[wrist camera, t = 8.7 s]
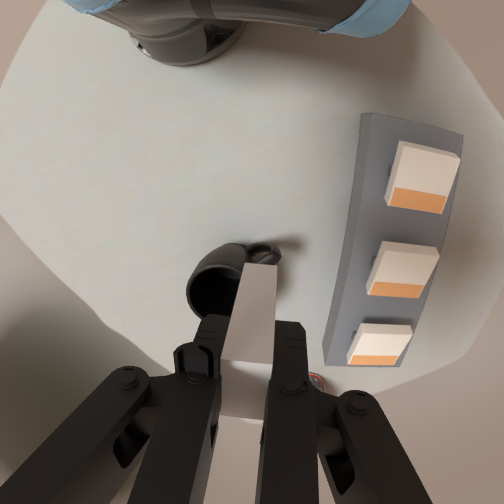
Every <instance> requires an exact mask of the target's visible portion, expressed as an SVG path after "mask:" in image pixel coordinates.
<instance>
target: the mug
mask: <svg viewBox="0 0 504 504" xmlns="http://www.w3.org/2000/svg"><path fill="white" fill-rule="evenodd" d="M261 252H269V253H268V254H267V255H265V256H264V257H262V258H261V259H259V260H258V261H256V262H255V260H254V259H253V257H252V256H254V255H256V254H258V253H261ZM281 257H282V255H281V252H280V250H279V248H278V247H277V246H276V245H274V244H271V243H253V244H251V245H249V246H247V247H246V248H245V247H244V246H242V245H240V244H236V243H228V244H225V245H223V246H221V247H219V248H217V249H215V250H213V251H212V252H210V253H209V254H208V255H206V256H205V257H204V258H203V259H202V260H201V261H200V262H199V264H198V265H197V267H196V268H195V270H194V272H193V273H192V275H191V277H190V279H189V281H188V284H187V287H186V296H187V301H188V304H189V306H190V308H191V309H192V311H193V312H194V313H195V314H196V315H197V316H198V317H199V318H200V319H201V320H202V319H204V318H205V317H206V316H207V315H208V314H214V315H222V316H231V315H232V311H233V307H234V303H235V299H236V296H237V292H238V288H239V284H240V280H241V276H242V272H243V268H244V264H245V263H253V264H264V265H275V264H276V263H277V262H279V260H280V259H281Z"/></svg>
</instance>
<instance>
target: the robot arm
mask: <svg viewBox="0 0 504 504" xmlns="http://www.w3.org/2000/svg"><path fill="white" fill-rule="evenodd" d="M62 1H63V2H65V3H67V4H68V5H70V6H72V7H73V8H74V9H75V10H76V11H79V12H81V13H85V14H90V15H93V16H95V17H98V18H100V19H102V20H105V21H107V22H109V23H112V24H114V25H116V26H118V27H120V28H123V29H125V30H127V31H128V32H129V35H130V37H131V39H132V41H133V42H134V44H135V45H136V47H137V48H138V49H139V50H140V51H141V52H143V53H144V54H145V55H147V56H148V57H150V58H152V59H154V60H157V61H159V62H162V63H165V64H168V65H174V66H188V65H195V64H199V63H202V62H205V61H208V60H210V59H212V58H215V57H216V56H218V55H220V54H221V53H223V52H224V51H226V50H227V49H228V48H229V47H230V46H231V45H232V44H233V43H234V42H235V41H236V40H237V39H238V38H239V36H240V35H241V33H242V31H243V30H244V28H245V25H246V23H247V21H255V22H265V23H275V24H283V25H290V26H297V27H304V28H310V29H315V30H316V32H319V33H323V34H329V33H337V34H343V35H348V36H353V37H358V38H369V37H372V36H377V35H380V34H382V33H384V32H385V31H387V30H388V29H390V28H391V27H392V26H393V25H394V24H395V23H396V22H397V21H398V20H399V19H400V17H401V16H402V15H403V13H404V12H405V11H406V9H407V7H408V6H409V4H410V2H411V1H412V0H62ZM276 288H277V266H274V265H264V264H253V263H245V264H244V268H243V272H242V276H241V280H240V284H239V288H238V292H237V296H236V299H235V303H234V307H233V311H232V315H231V316H222V315H214V314H208V315H207V316H206V317H205V318H204V319H202V320H201V322H200V325H199V327H198V331H197V333H196V335H195V338H194V340H193V342H189V343H185V344H183V345H181V346H179V347H177V348H176V350H175V351H174V352H173V355H174V364H175V373H173V374H171V375H167V376H157V377H149V376H148V374H147V373H146V371H144V370H143V369H141V368H139V367H135V366H124V367H121V368H118V369H116V370H115V371H113V372H112V373H111V374H110V375H109V376H108V377H107V378H106V379H105V380H104V381H103V382H102V383H101V384H100V385H99V386H98V387H97V388H96V389H95V390H94V391H93V392H92V393H91V394H90V395H89V396H88V397H87V398H86V399H85V400H84V401H83V402H82V403H81V404H80V405H79V406H78V407H77V408H76V410H74V411H73V412H72V413H71V414H70V415H69V416H68V418H66V419H65V421H64V422H62V423H61V425H60V426H59V427H58V428H57V429H56V430H55V431H54V432H53V433H52V434H51V435H50V436H49V437H48V438H47V439H46V440H45V441H44V442H43V443H42V444H41V445H40V446H39V447H38V448H37V449H36V451H34V452H33V453H32V454H31V455H30V457H29V458H28V459H27V460H26V461H25V462H24V463H23V464H22V465H21V466H20V467H19V468H18V469H17V470H16V471H15V472H14V473H13V475H11V476H10V478H8V480H7V481H6V482H5V483H4V484H3V485H2V486H1V487H0V504H109V503H110V502H111V500H112V499H113V498H114V496H115V495H116V494H117V492H118V491H119V490H120V488H121V487H122V486H123V484H124V483H125V482H126V480H127V479H128V477H129V476H130V475H131V473H132V472H133V471H134V469H135V468H136V467H137V465H138V464H139V462H140V461H141V460H142V458H143V457H144V458H143V460H142V463H141V466H140V469H139V472H138V474H137V477H136V480H135V483H134V486H133V488H132V491H131V494H130V497H129V500H128V503H127V504H203V500H204V495H205V491H206V486H207V481H208V476H209V471H210V466H211V461H212V457H213V452H214V446H215V442H216V437H217V432H218V418H219V413H220V415H224V416H232V417H240V418H249V419H259V420H264V421H263V429H262V434H261V441H260V444H261V447H260V457H259V468H258V477H257V487H256V496H255V504H319V489H318V459H317V453H318V455H319V458H320V461H321V464H322V466H323V469H324V472H325V475H326V478H327V481H328V483H329V486H330V489H331V492H332V495H333V498H334V501H335V503H336V504H433V503H432V501H431V499H430V498H429V496H428V494H427V492H426V490H425V488H424V486H423V484H422V482H421V480H420V478H419V476H418V475H417V473H416V471H415V469H414V467H413V465H412V463H411V461H410V460H409V458H408V456H407V454H406V453H405V450H404V449H403V447H402V445H401V443H400V441H399V439H398V438H397V436H396V434H395V432H394V430H393V429H392V427H391V425H390V423H389V421H388V419H387V418H386V416H385V414H384V412H383V410H382V409H381V407H380V405H379V403H378V402H377V401H376V399H375V398H374V397H373V396H372V395H370V394H369V393H367V392H364V391H360V390H350V391H347V392H344V393H343V394H342V395H341V396H340V397H337V396H333V395H330V394H327V393H324V392H322V391H320V390H318V389H317V388H316V387H315V386H314V385H313V384H312V382H311V381H310V379H309V372H308V358H307V344H306V332H305V329H304V328H303V327H302V325H301V324H300V322H290V321H279V320H275V310H276Z"/></svg>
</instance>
